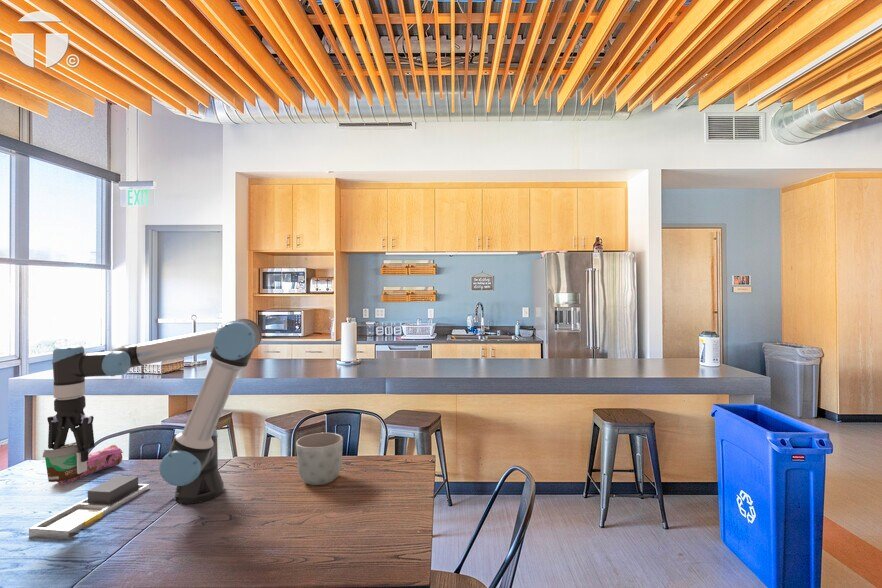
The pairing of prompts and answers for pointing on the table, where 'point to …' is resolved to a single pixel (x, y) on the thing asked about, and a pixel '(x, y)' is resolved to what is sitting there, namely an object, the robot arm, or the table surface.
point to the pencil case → (100, 461)
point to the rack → (78, 517)
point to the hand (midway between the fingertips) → (72, 471)
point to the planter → (319, 457)
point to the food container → (62, 462)
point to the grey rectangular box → (113, 490)
